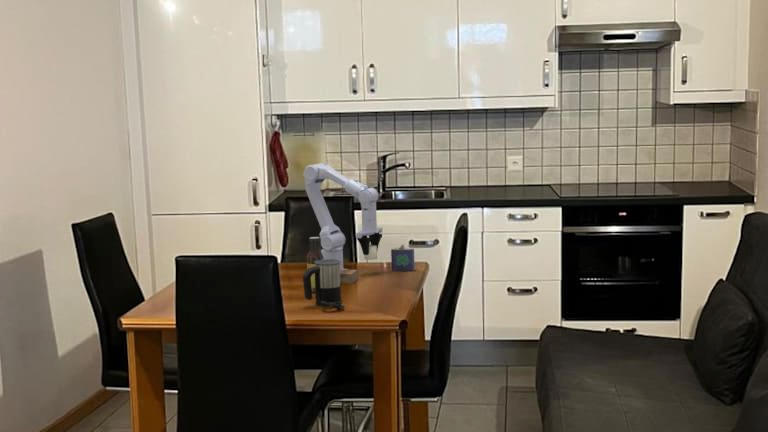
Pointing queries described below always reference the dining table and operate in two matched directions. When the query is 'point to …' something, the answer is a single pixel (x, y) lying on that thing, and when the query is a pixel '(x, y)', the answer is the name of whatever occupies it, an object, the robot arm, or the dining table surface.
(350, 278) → the block
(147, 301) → the dining table surface
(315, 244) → the sauce bottle
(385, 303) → the dining table surface
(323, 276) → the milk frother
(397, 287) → the dining table surface
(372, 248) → the cup
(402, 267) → the flask
